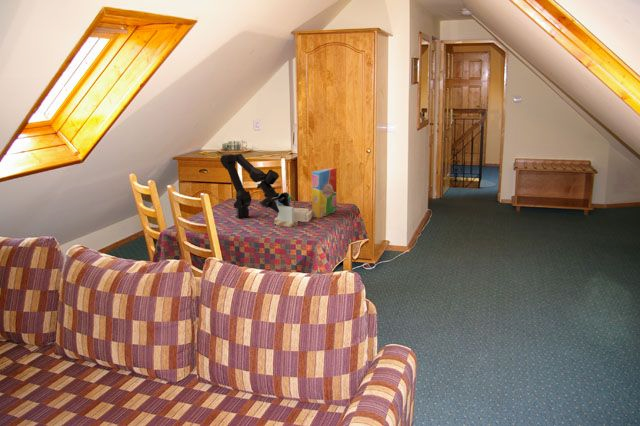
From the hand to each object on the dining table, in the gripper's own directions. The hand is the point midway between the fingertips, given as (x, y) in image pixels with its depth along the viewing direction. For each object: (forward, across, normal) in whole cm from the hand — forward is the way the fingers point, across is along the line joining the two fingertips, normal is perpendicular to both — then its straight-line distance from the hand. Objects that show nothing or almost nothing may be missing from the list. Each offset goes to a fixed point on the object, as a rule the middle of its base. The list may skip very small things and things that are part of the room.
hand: (283, 210), depth 323 cm
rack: (+3, -13, -8) cm, 16 cm away
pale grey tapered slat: (+3, 0, -1) cm, 3 cm away
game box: (+10, -32, -2) cm, 34 cm away
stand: (+6, 0, -5) cm, 8 cm away
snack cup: (-9, -24, -20) cm, 33 cm away
